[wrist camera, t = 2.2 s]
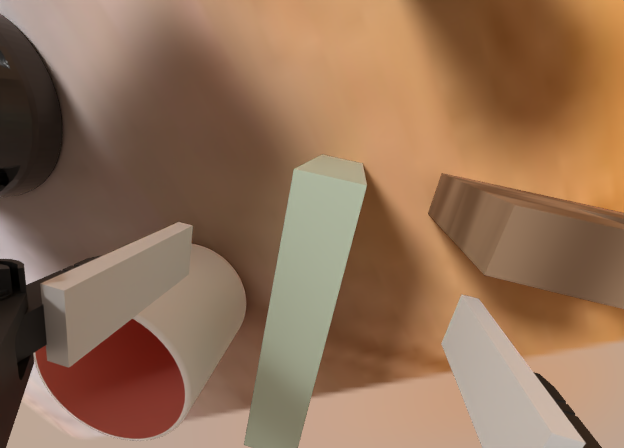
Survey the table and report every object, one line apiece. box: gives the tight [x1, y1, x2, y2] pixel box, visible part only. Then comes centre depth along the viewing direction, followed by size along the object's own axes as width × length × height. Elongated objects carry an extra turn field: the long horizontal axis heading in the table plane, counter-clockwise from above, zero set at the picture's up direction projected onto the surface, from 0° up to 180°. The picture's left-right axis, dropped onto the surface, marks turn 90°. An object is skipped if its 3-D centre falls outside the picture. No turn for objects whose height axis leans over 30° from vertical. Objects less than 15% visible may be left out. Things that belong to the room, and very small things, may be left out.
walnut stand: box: [428, 173, 624, 309], centre depth 16 cm, size 16×3×10 cm, turn 78°
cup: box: [33, 244, 246, 441], centre depth 22 cm, size 10×10×10 cm
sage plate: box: [244, 154, 367, 448], centre depth 19 cm, size 16×3×10 cm, turn 168°
